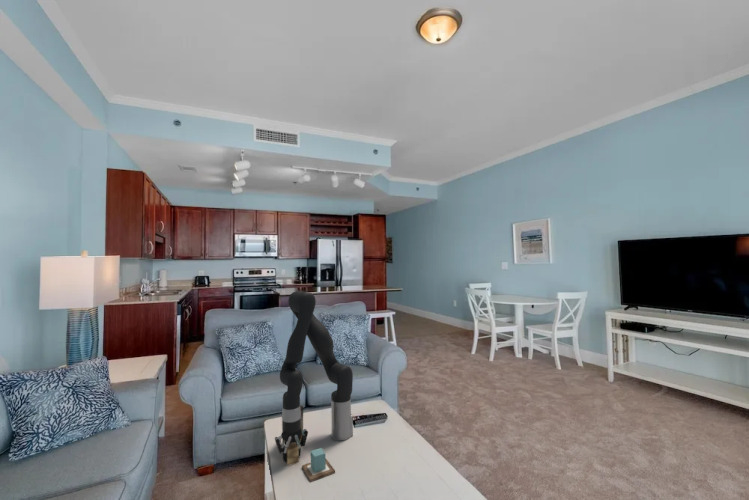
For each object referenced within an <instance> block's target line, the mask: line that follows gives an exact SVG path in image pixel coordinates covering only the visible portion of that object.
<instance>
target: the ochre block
mask: <svg viewBox="0 0 749 500" xmlns="http://www.w3.org/2000/svg"><path fill="white" fill-rule="evenodd" d="M299 458H300V456H299V447H298V446H297V444H296V443H291V444H289V447H288V449H287V462H285V463H286V465H287V466H291V465H294V464H298V463H299V461H300V459H299Z"/></svg>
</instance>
